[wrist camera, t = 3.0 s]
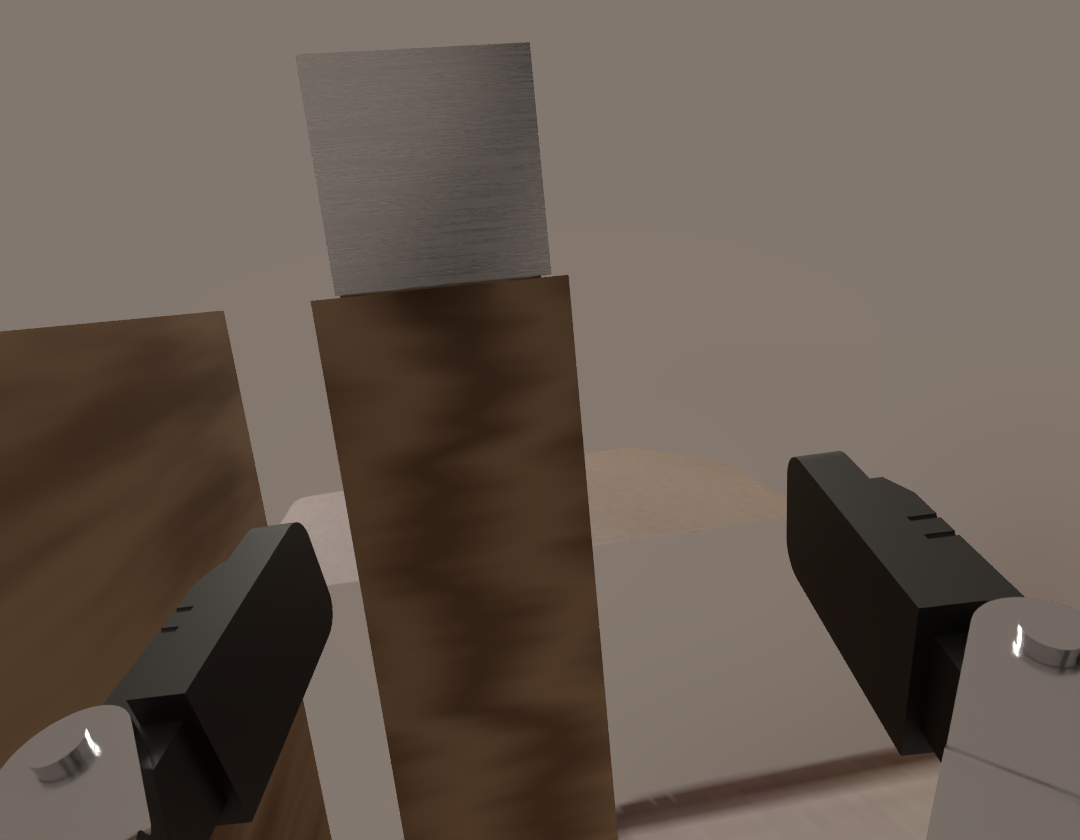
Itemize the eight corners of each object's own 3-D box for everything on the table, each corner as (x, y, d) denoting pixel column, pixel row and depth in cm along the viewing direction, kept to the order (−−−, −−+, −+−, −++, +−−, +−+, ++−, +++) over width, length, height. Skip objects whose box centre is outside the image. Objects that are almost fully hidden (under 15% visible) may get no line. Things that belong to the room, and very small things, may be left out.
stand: (576, 781, 41) (520, 234, 34) (751, 1413, 18) (695, 111, 11) (273, 843, 39) (142, 269, 31) (24, 1668, 16) (-699, 209, 8)
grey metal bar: (408, 292, 35) (394, 192, 33) (474, 285, 35) (462, 186, 34) (335, 295, 10) (275, -66, 9) (551, 274, 11) (519, -72, 10)
